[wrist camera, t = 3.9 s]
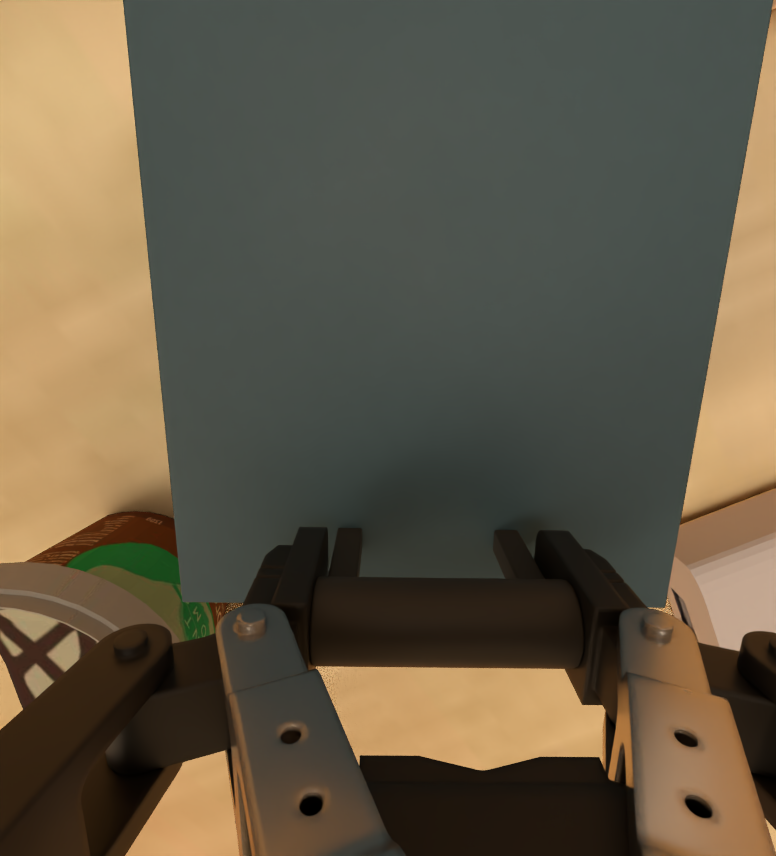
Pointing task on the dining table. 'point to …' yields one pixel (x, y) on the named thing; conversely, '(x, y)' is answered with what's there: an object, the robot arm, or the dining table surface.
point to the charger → (727, 572)
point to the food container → (93, 597)
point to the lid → (437, 297)
